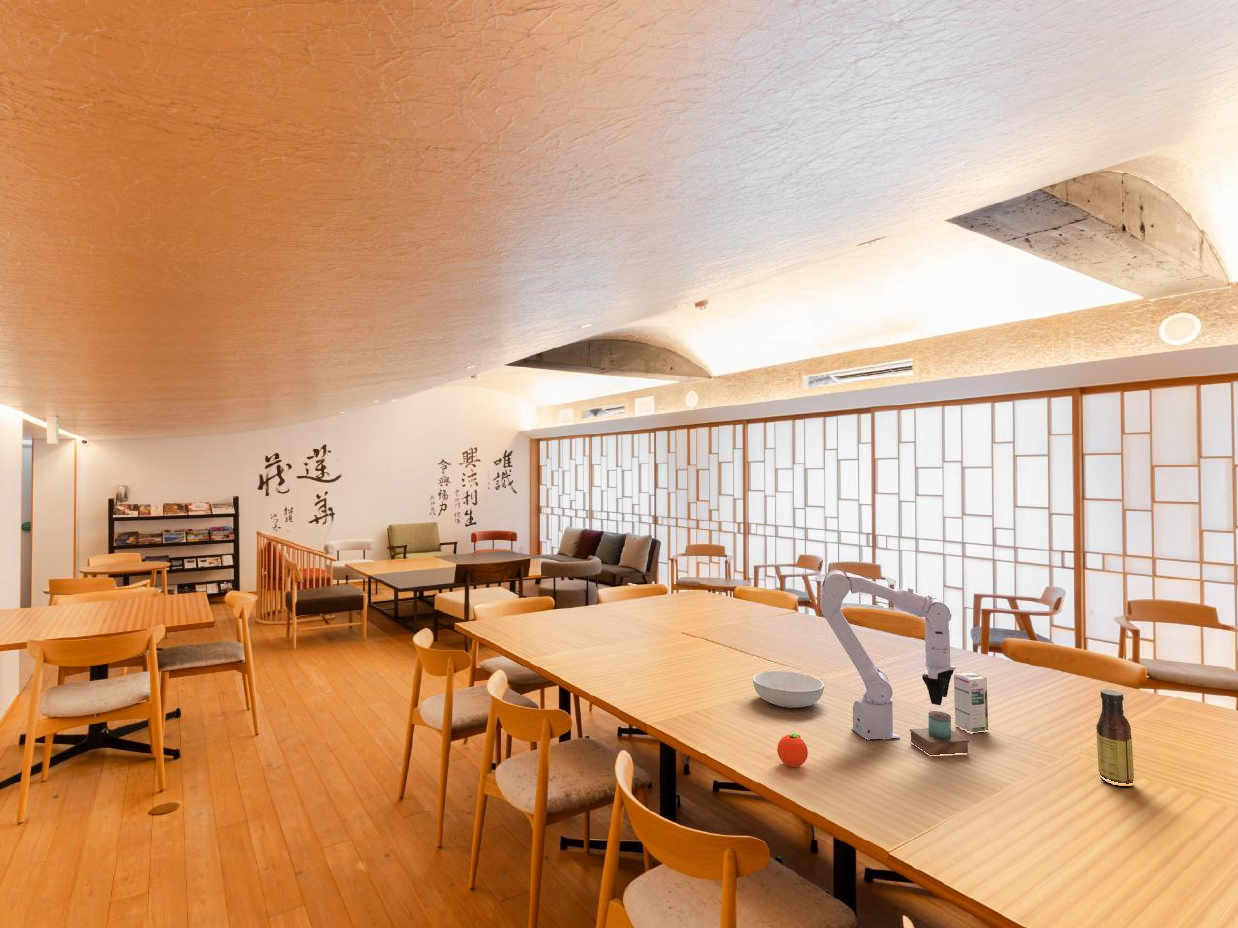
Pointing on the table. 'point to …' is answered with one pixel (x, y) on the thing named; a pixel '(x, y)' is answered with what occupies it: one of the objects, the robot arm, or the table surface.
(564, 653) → the table surface
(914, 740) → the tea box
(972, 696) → the syrup box
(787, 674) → the serving bowl
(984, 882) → the table surface
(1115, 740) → the sauce bottle
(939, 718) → the cylinder
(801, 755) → the tomato
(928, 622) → the robot arm
